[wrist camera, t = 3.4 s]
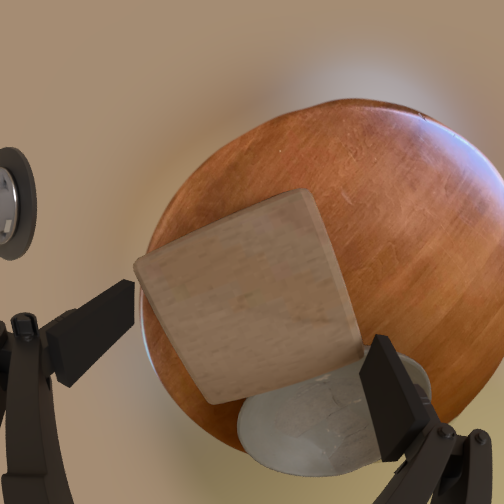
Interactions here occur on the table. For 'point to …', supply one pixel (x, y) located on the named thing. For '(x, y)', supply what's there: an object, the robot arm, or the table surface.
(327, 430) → the bowl
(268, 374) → the wooden block
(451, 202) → the table surface
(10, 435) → the robot arm
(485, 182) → the table surface
